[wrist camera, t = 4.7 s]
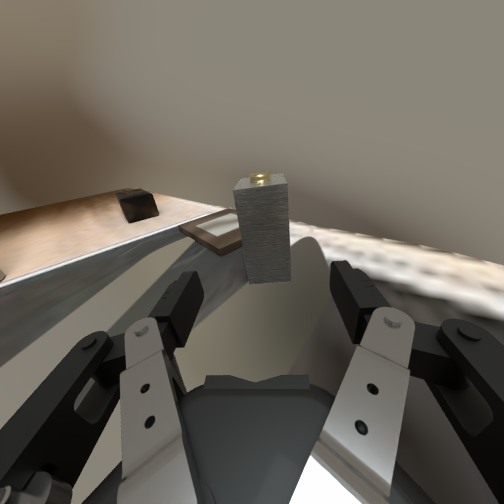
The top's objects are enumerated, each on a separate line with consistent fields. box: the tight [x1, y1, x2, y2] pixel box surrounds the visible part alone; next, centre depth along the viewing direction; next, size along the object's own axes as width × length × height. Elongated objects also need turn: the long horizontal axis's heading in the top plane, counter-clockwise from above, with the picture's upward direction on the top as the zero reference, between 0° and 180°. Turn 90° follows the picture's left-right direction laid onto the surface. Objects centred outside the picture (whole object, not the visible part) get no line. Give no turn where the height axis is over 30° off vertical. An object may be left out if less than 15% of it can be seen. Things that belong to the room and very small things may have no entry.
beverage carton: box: [116, 189, 159, 223], centre depth 55 cm, size 8×19×7 cm, turn 36°
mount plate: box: [178, 208, 243, 256], centre depth 35 cm, size 16×12×1 cm
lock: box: [233, 172, 292, 284], centre depth 21 cm, size 4×6×11 cm
